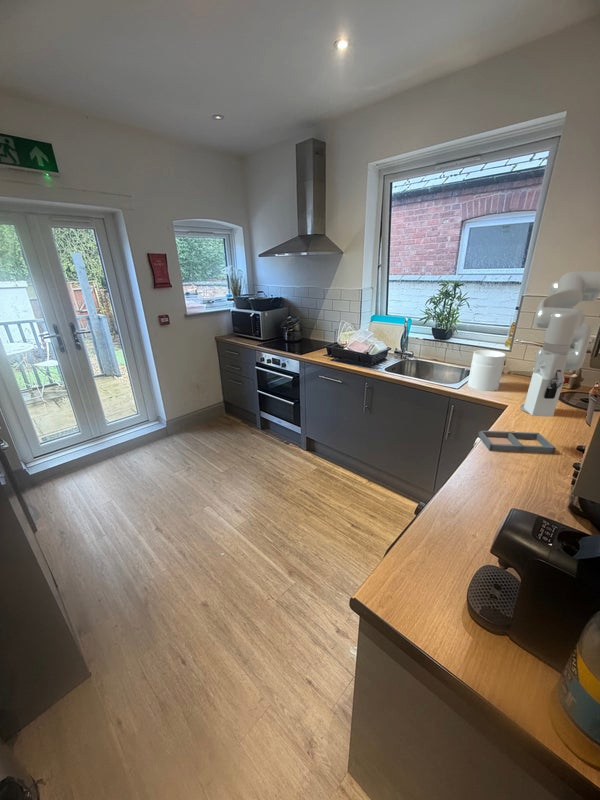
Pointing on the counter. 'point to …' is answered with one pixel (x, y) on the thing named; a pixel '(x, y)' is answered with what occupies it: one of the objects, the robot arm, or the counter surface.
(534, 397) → the milk carton
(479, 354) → the canister
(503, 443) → the frame
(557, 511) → the counter surface
